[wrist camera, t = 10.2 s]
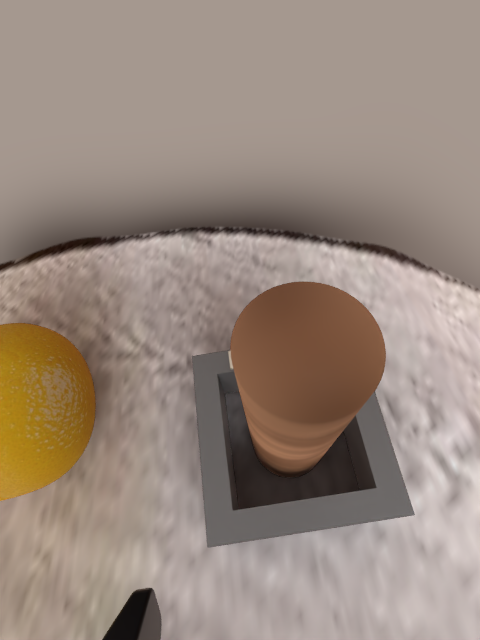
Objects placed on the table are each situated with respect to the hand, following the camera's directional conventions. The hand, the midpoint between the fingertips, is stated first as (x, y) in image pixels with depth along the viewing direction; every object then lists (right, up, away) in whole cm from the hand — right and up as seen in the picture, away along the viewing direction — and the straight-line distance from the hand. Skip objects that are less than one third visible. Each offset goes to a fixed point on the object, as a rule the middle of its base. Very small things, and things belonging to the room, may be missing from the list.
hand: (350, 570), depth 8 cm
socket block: (0, -1, +13) cm, 13 cm away
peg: (0, -1, +13) cm, 13 cm away
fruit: (-14, -1, +14) cm, 20 cm away
